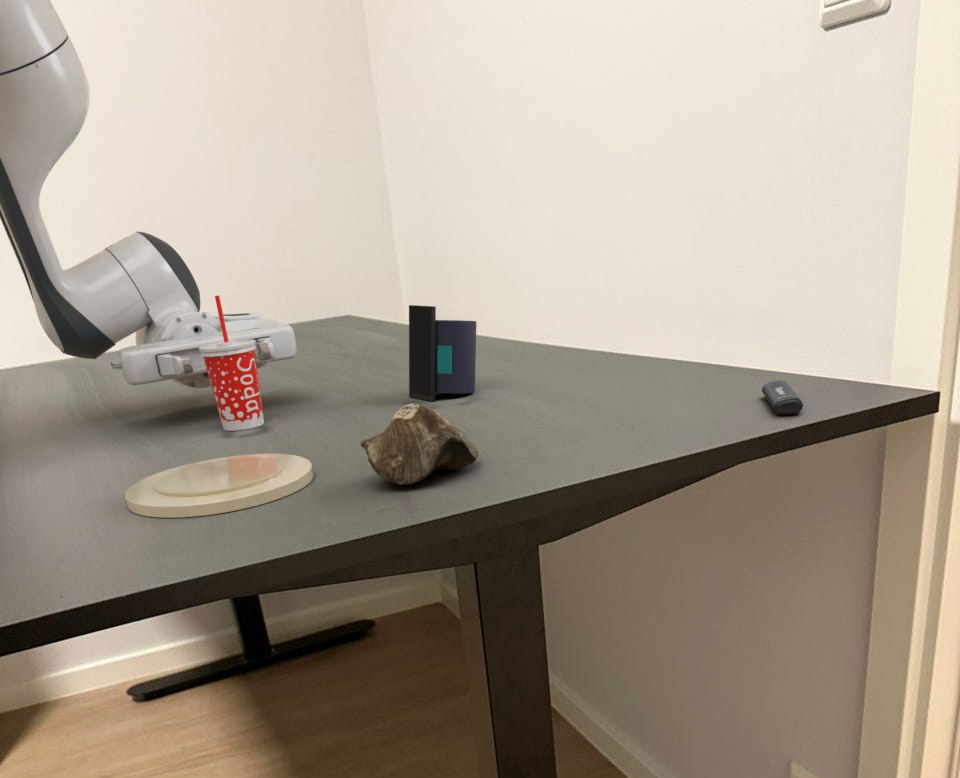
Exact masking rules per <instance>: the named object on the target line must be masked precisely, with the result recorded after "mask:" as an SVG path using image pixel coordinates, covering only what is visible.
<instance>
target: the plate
mask: <svg viewBox="0 0 960 778" xmlns="http://www.w3.org/2000/svg"><path fill="white" fill-rule="evenodd" d="M313 479H314V469H313V464H312V463H311V461H310V460H309V459H308V458H306V457H303V456H299V455H294V454H288V453H251V454H240V455H239V454H238V455H230V456H224V457H223V456H222V457H217V458H211V459H210V458H209V459H206V460H200V461H196V462H195V461H194V462H191V463H187V464H183V465H179V466H176V467H171V468H168V469H166V470H162V471H160V472H156V473H154V474H152V475H149V476H147V477H144V478H142V479H141V480H139V481H137V482H135V483H134V484H132V485H131V486H129V487H128V488H127V489H126V490H125V492H124V498H125V502H126V507H127V508H128V510H129V511H130V512H132V513H134V514H136V515H139V516H142V517H148V518H160V519H180V518H181V519H183V518H196V517H204V516H206V517H207V516H213V515H220V514H225V513H231V512H237V511H240V510H245V509H250V508H254V507H258V506H260V505H261V506H262V505H265V504H268V503H271V502H274V501H278V500H281V499H283V498H286V497H288V496H290V495H292V494H294V493H297V492H298V491H300V490H302V489H304V488H305V487H306V486H308V485H309V484H310V483H311V482H312V481H313Z"/></svg>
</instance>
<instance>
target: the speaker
mask: <svg viewBox="0 0 960 778" xmlns="http://www.w3.org/2000/svg"><path fill="white" fill-rule="evenodd" d="M436 307H437V306H432V305H415V304H409V305H408V397H409V398H414V399H420V400H425V401H430V402H435V401H436V394H472V393H475V392H476V357H477V356H476V355H477V353H476V352H477V321H475V320H459V319H437V318H436V316H437V314H436V313H437V309H436Z"/></svg>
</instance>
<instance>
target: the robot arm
mask: <svg viewBox="0 0 960 778" xmlns="http://www.w3.org/2000/svg"><path fill="white" fill-rule="evenodd" d="M90 91H91V90H90V85H89V81H88V78H87V75H86V71H85V70H84V66H83V64H82V62H81V59H80V57H79V55H78V52H77V50H76V48H75V46H74V44H73V42H72V40H71V37H70V36H69V34H68V32H67V30H66V28H65V26H64V23H63V22H62V20H61V18H60V15H59V14H58V11H56V9H55V7H54V5H53V3H52V1H51V0H0V221H1V224H2V226H3V229H4V231H5V233H6V236H7V239H8V240H9V243H10V245H11V248H12V250H13V252H14V255H15V256H16V259H17V262H18V264H19V267H20V269H21V272H22V274H23V276H24V279H25V281H26V284H27V287H28V291H29V293H30V295H31V298H32V302H33V304H34V308H35V312H36V315H37V319H38V322H39V323H40V325H41V328H42V329H43V331H44V333H45V335H46V336H47V338H48V339H49V341H50V342H51V343H52V344H53V345H54V346H55V347H56V348H57V349H59V351H60V352H61V353H63V354H64V355H68V356H71V357H75V358H80V359H87V360H96V359H98V358H99V357H101V356H102V355H103V354H105V353H106V352H108V351H110V349H112V348H113V347H114V346H116V344H117V343H119V342H120V341H122V340H124V339H126V338H128V337H129V336H131V335H132V334H134V333H135V345H129V346H127V347H122V348H120V349H119V350H118V352H117V354H118V359H115V360H111V361H110V367H111V368H112V369H113V370H115V371H116V370H117V371H121V372H122V375H123V379H124V381H125V382H126V383H127V385H131V386H140V385H145V384H147V385H148V384H151V383H152V384H153V383H159V382H163V381H169V380H172V381H174V382H176V383H178V384H181V385H184V386H186V387H190V388H193V389H194V388H195V389H204V388H205V389H206V388H209V387H211V383H210V379H209V376H208V372H207V369H206V365H205V362H204V358H203V357H202V356H200V351H199V347H201V346H205V345H208V344H213V343H218V342H222V341H224V338H223V333H222V328H221V324H220V319H219V314H218V313H217V314H216V313H212V312H207V311H202V312H200V311H201V292H200V289H199V286H198V284H197V282H196V280H195V278H194V276H193V274H192V271H191V270H190V268H189V267H188V265H187V264H186V262H185V261H184V260H183V258H182V257H181V255H180V254H179V253H178V251H177V250H175V249H174V247H172V245H170V244H169V243H168V242H167V241H164V240H162V239H161V238H159V237H157V236H155V235H152V234H150V233H148V232H143V231H135V232H134V233H132V234H129V235H128V236H126V237H124V238H122V239H120V240H118V241H116V242H114V243H112V244H110V245H109V246H107V247H105V248H104V249H103V250H101V251H99V252H98V253H95V254H93V255H91V256H90V257H88V258H86V259H84V260H83V261H81V262H79V263H77V264H75V265H74V266H72V267H69V268H66V269H63V268H62V264H61V262H60V260H59V257H58V254H57V252H56V249H55V247H54V244H53V242H52V238H51V236H50V234H49V231H48V229H47V226H46V223H45V221H44V218H43V215H42V211H41V207H40V196H41V192H42V189H43V187H44V183H45V181H46V179H47V178H48V176H49V174H50V172H51V171H52V169H53V168H54V167H55V165H56V164H57V162H58V161H59V160H60V159H61V158H62V156H63V155H64V154H65V153H66V151H68V149H69V148H70V147H71V146H72V144H73V143H74V142H75V140H76V139H77V137H79V135H80V133H81V131H82V130H83V129H82V128H83V127H84V124H85V122H86V120H87V116H88V113H89V107H90V101H91V100H90V96H91V95H90ZM223 316H224V321H225V326H226V331H227V336H228V340H246V339H249V340H255V342H256V344H255V346H256V349H254V351H255V358H256V365H257V370H258V369H261V368H264V367H267V366H268V365H269V363H271V362H279V361H286V360H292V359H295V358H296V357H297V355H298V348H297V341H296V336H295V332H294V329H293V327H292V326H291V325H290V324H287V323H286V322H285V323H284V322H281V321H278V320H274V319H267V318H261V316H260V314H259V313H256V312H251V313H248V312H246V313H245V312H244V313H230V314H229V313H223Z"/></svg>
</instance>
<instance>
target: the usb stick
mask: <svg viewBox="0 0 960 778" xmlns="http://www.w3.org/2000/svg"><path fill="white" fill-rule="evenodd" d="M761 392H762V394H763V395H764V397H765V399H766V400H767V402H768V403H769V405H770V406H771V408H772V409H773V410H774V412H775V413H776V414H778V415H781V416H788V415H790V416H792V415H796V414H798V413H800V412H801V411H802V410H803V408H804V404H803V401H802V400H801V398H800V397H799V396H798V395H797V394H796V392H795V391H794V390H793V389H792V388H791V386H790V385H789V384H788V383H787V382H786V381H785V380H781V379H780V380H779V379H778V380H774V381H769V382H767V383H764V384H763V386H762V388H761Z"/></svg>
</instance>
